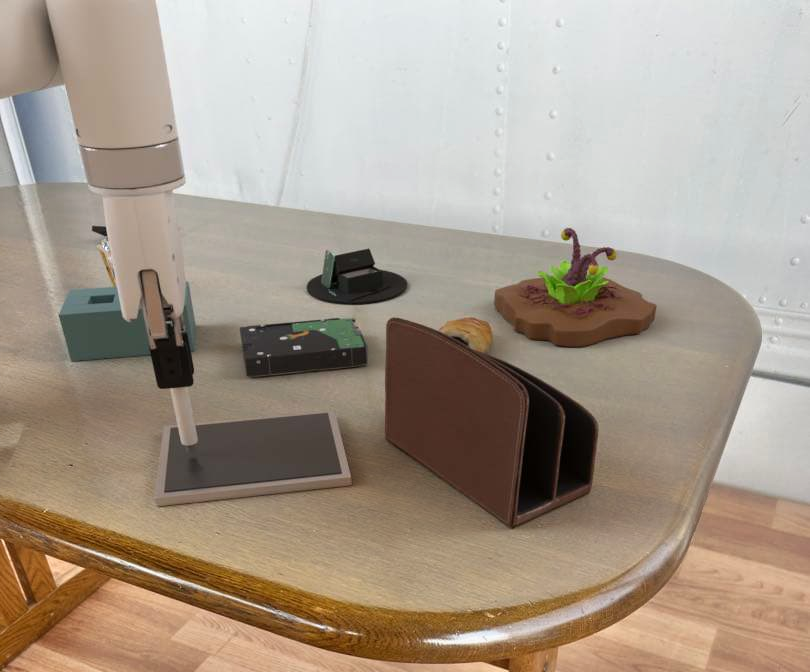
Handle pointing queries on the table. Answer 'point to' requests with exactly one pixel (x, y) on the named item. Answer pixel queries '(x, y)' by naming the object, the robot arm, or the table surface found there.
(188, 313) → the dock
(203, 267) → the table surface
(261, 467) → the tablet
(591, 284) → the plant
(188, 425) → the stylus
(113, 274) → the ring
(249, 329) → the disk drive
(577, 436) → the letter holder
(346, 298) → the round circuit board stand
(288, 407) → the table surface
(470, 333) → the pastry
